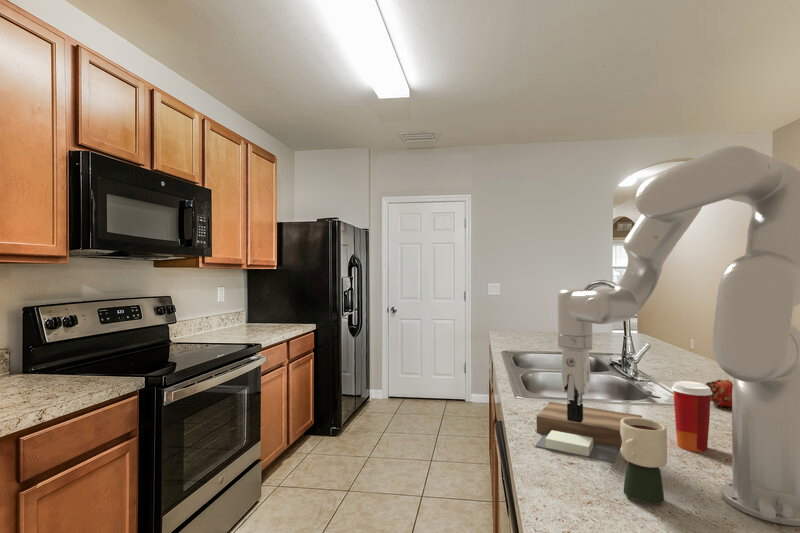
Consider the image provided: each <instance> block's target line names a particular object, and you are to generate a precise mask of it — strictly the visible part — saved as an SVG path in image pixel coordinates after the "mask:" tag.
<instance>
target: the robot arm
mask: <svg viewBox="0 0 800 533" xmlns="http://www.w3.org/2000/svg"><path fill="white" fill-rule="evenodd" d="M726 200H729V201H730V200H731V201H734V202H739V203H743V204H748V205H749V206H750V208H751V210H752V214H751V218H750V221H749V224H748V227H747V228H748V229H747V237H746V238H747V239H746V249H745V254H744V255H742V256H738V257H737V258H736V259H733V261H732V262H730V263H728V265H727V267H726V268H725V269H724V271H723V272H722V275H721V277H720V280H719V283H718V287H717V295H716V306H715V311H714V312H715V314H714V321H713V332H712V340H711V341H712V344H711V345H712V353H713V357H714V359H715V361H716V364H717V365H718V366H719V367H720V368H721V370H722V371H724V373H725V374H727V376H729V377H731V378H733V380H732V381H733V382H732V384H733V389H732V407H731V428H732V429H731V432H732V434H731V437H732V439H731V443H732V444H731V445H732V450H731V451H732V452H731V453H732V455H731V456H732V457H731V458H732V461H731V462H732V464H731V465H732V466H731V467H732V469H731V470H732V481H731V482H727V483H724V484H723V485H722V487H721V496H722V498H723V499H724V500H725V502H727V504H729V505H730V506H731V507H733V508H735V509H737V510H739V511H741V512H742V513H745V514H747V515H750V516H751V517H753V518H758V519H760V520H764V521H767V522H771V523H776V524H780V525H784V526H793V527H800V331H799V329H797V328H796V327H795V326H794V325H793V324H792V319H793V311H794V310H793V309H794V307H797V306H798V305H800V169H798V168H796V167H794V165H791V164H789V163H787V162H784V161H782V160H779V159H777V158H775V157H772V156H770V155H768V154H765V153H763V152H760V151H758V150H756V149H754V148H751V147H747V146H744V145H733V146H732V145H730V146H725V147H721V148H720V147H719V148H718V149H716V150H713V151H710V152H707V153H704V154H702V155H700V156H699V155H698V157H695V158H692V159H689V160H687V161H684V162H682V163H680V164H677V165H675V166H672V167H669V168H667V169H665V170H662V171H660V172H657V173H656V174H653V175H652V176H650V177H648V178H647V179H645V181H643V182H642V183H641V184H640V186H639V187H638V188H637V191H636V193H635V197H634V203H635V207H636V209H637V211H638V212H639V213H640V215H639V217H638V219H637V220H636V222H635V223H634V225H633V226H632V228H631V230H629V232H628V234H627V235H626V237H625V238H624V240H623V244H622V246H623V248H624V251H625V252H626V255H627V265H626V268H625V271H624V273H623V274H622V276H621V277H620V279H619V281H618V282H617V283H616V285H615V287H614V288H603V289H601V288H600V289H593V290H592V289H591V290H588V289H582V288H564V289H563V288H562V289H561V290H559V291H558V294H557V348H558V349H561V350H562V352H561V389H562V391H563V393H566V397H567V398H566V399H567V401H566V402H567V403H566V404H567V420H568V421H574V422H580V423H581V422H582V421H583V407H584V404H583V401H584V400H583V399H584V395H585V394H586V393H587V392H588V391H589V390H590V388H591V368H590V367H591V366H590V365H591V364H590V363H591V362H590V351H592V350H593V324H596V325H606V324H607V325H608V324H613V323H622V322H625V321H628V320H631V319H632V318H634V317H635V316H637V314H638V313H639V312H640V311H641V309H642V308H643V307H644V306H645V304H646V303H647V302H648V300H649V299H650V297H651V296H652V294H653V293H654V291H655V290H656V288H657V285H658V283H659V280H660V277H661V274H662V270H663V266H664V263H665V262H666V259H667V258H668V257H669V255H670V254H671V252H672V251H673V249H674V248H675V247H676V245H677V244H678V243H679V241H681V238H682V237H683V236H684V234H685V233H686V232H687V230H688V229H689V228H690V226H691V225H692V223H694V220H695V219H696V217H697V216H698V214H699V213H700V212H701V210H702V208H703V207H704V206H707V205H711V204H714V203H719V202H721V201H726Z"/></svg>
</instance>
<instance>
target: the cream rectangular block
mask: <svg viewBox="0 0 800 533" xmlns="http://www.w3.org/2000/svg"><path fill="white" fill-rule="evenodd" d="M545 447H546V448H550V449H555V450H560V451H565V452H570V453H575V454H580V455H584V456H589V455H590V453H591V451H592V449H593V438H591V437H586V436H581V435H575V434H570V433H564V432H559V431H553V430H552V431H551V432H550V433H549V434H548V436H547V437H546V438H545Z"/></svg>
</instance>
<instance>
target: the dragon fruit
mask: <svg viewBox="0 0 800 533" xmlns="http://www.w3.org/2000/svg"><path fill="white" fill-rule="evenodd" d="M705 385H707V386H708V387H710V390H711V391H712V393H713V394H712V395H711V399H710V402H712V403H713V405H714V406H715V407H717V408H720V409H722V408H723V407H725V406H726V407H727V408H731V409H732V389H733V382H732V381H731V380H729V379H725V380H724V379H717V380H712V381H710V382H709V381H708V382H705Z"/></svg>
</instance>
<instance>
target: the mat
mask: <svg viewBox="0 0 800 533" xmlns="http://www.w3.org/2000/svg"><path fill="white" fill-rule="evenodd" d="M547 436H548V433H545V434H542V436H541V437H540V439H539V440H538V441H537V443H536V444H535V445H534V447H535V448H539V449H543V450H548V451H554V452H559V453H562V454H568V455H572V456H573V455H574V456H578V457H583V458H588V459H591V460H592V459H593V460H598V461H603V462H608V463H613V464H615V461H616V457H617V452H618V450H619V448H618V447H617V446H612V445H607V444H601V443H596V442H593V449H592V451H591V453H590V455H589V456H584V455H580V454H575V453H570V452H565V451H560V450H555V449H550V448H546V447H545V438H546V437H547Z"/></svg>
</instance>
